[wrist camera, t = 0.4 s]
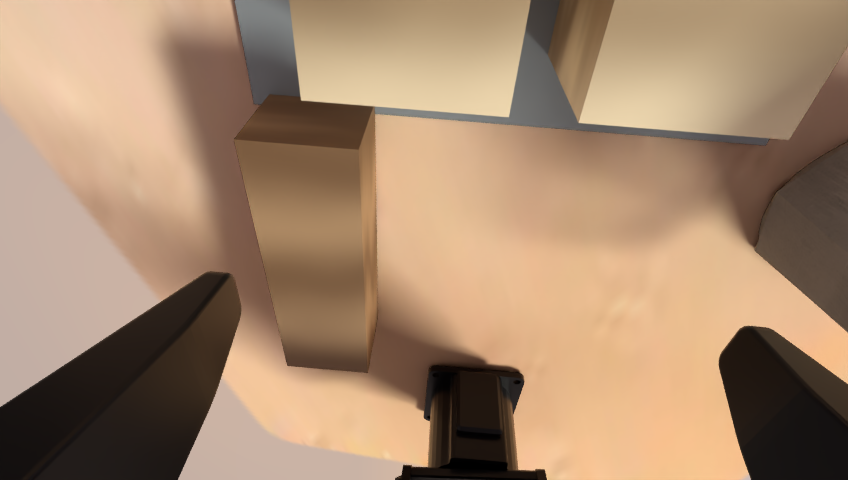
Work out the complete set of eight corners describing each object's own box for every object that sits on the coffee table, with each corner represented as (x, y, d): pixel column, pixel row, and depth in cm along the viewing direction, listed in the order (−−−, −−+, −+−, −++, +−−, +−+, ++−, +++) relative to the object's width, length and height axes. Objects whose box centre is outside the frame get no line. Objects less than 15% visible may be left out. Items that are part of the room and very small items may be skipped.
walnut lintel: (377, 317, 29) (367, 372, 25) (305, 310, 29) (287, 365, 26) (374, 102, 19) (358, 149, 16) (269, 94, 19) (233, 139, 16)
